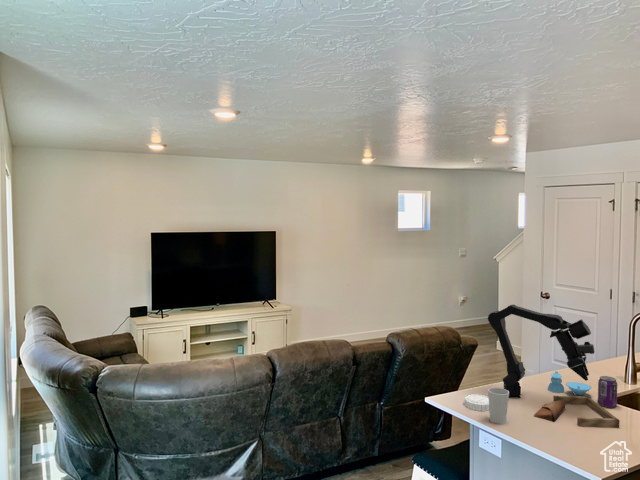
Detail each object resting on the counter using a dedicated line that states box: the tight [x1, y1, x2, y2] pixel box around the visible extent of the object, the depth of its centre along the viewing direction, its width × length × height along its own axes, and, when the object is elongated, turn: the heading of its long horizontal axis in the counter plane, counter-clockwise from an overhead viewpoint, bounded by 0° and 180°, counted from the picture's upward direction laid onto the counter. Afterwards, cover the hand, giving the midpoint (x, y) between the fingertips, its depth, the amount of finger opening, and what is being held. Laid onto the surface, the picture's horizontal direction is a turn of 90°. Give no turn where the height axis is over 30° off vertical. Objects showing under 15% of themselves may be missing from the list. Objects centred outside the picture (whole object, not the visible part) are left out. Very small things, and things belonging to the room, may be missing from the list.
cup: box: [487, 387, 510, 425], centre depth 189 cm, size 8×8×12 cm
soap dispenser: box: [547, 371, 593, 397], centre depth 220 cm, size 18×10×9 cm, turn 53°
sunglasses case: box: [533, 401, 566, 423], centre depth 197 cm, size 18×7×7 cm, turn 141°
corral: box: [552, 395, 620, 429], centre depth 196 cm, size 15×25×3 cm, turn 175°
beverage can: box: [597, 375, 618, 409], centre depth 206 cm, size 7×7×12 cm
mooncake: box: [463, 393, 489, 412], centre depth 205 cm, size 12×12×4 cm
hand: (587, 377), depth 198 cm, fingers open, 9 cm apart
